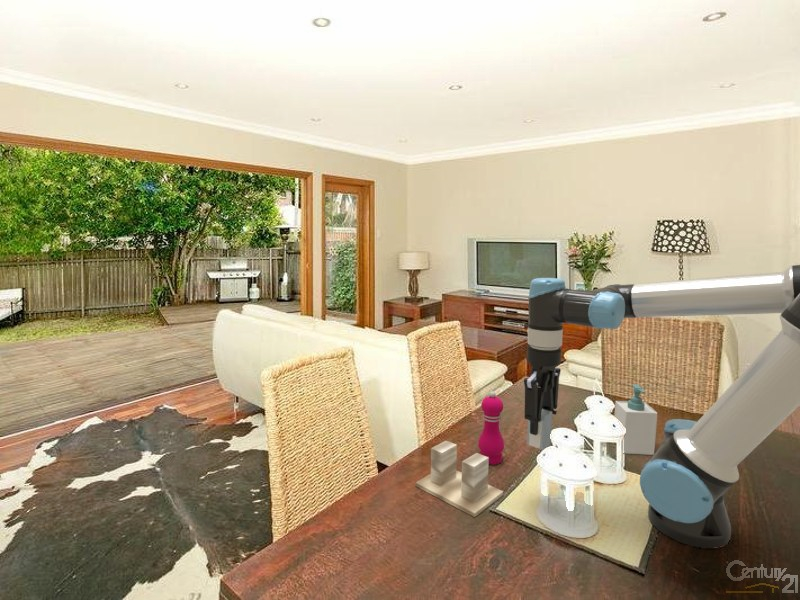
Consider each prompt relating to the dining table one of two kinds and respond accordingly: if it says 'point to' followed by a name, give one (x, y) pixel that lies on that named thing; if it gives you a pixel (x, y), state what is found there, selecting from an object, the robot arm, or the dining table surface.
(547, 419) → the blue-grey rectangular block
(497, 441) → the pepper mill
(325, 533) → the dining table surface
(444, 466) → the two-post base plate
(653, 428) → the soap bottle
